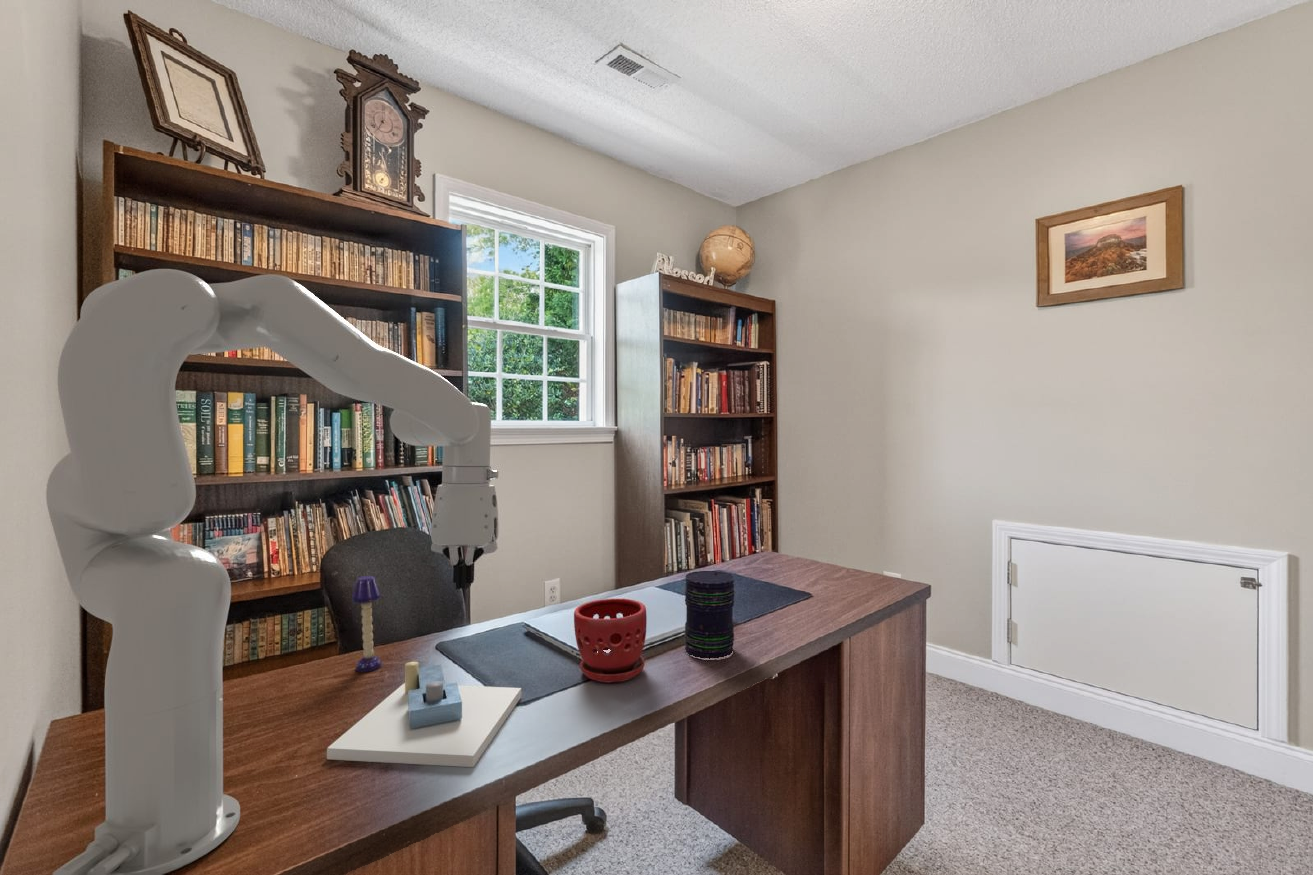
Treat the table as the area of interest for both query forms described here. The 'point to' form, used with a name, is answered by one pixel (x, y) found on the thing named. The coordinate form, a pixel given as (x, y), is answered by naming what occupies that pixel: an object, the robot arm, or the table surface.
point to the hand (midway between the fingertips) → (463, 587)
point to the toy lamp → (367, 620)
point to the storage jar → (709, 614)
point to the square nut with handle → (434, 710)
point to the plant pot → (611, 639)
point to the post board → (427, 727)
